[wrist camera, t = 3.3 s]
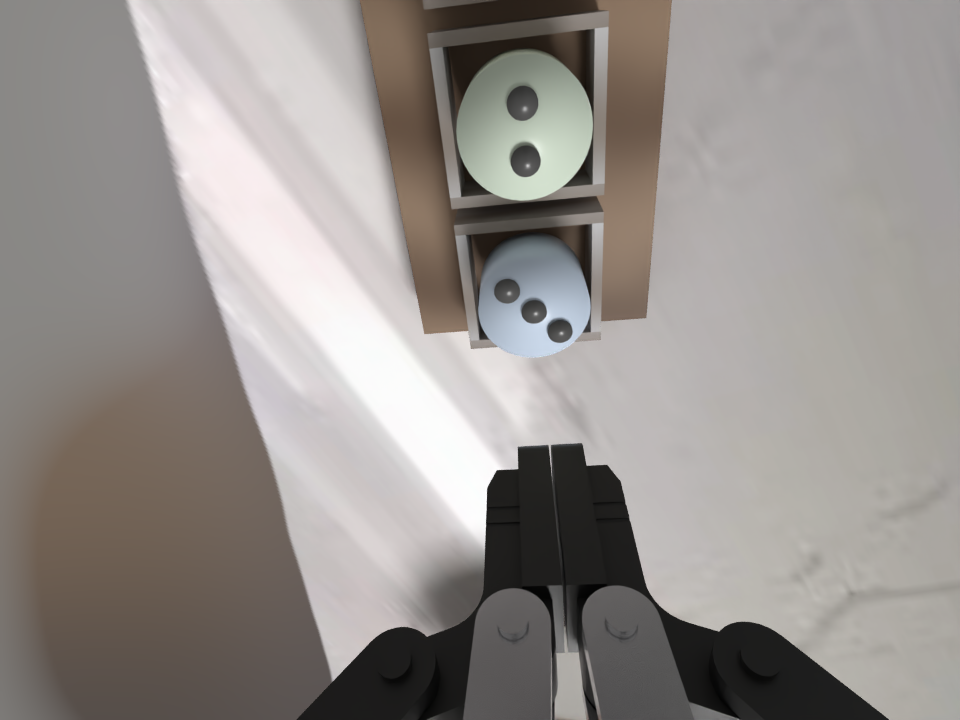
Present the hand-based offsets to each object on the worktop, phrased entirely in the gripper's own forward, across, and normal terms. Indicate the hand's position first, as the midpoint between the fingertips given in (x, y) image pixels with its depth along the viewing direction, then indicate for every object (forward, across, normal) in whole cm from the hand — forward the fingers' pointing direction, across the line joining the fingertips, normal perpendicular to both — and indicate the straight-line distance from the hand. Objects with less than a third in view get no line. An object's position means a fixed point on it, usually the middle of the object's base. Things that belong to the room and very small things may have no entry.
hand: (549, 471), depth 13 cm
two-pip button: (+10, 0, -6) cm, 12 cm away
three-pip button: (+10, 0, 0) cm, 10 cm away
